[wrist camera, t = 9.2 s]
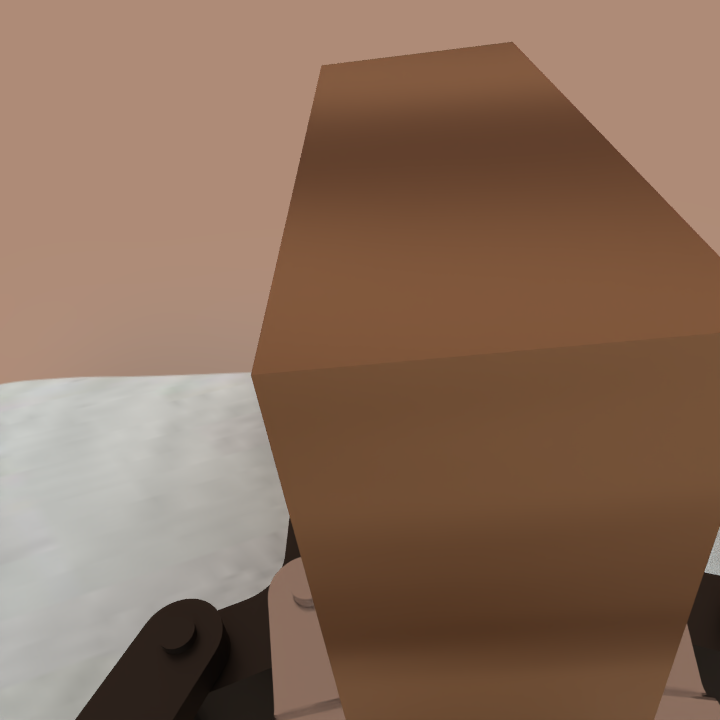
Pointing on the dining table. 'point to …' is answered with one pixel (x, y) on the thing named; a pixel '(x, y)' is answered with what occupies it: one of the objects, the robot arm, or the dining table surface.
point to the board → (489, 397)
